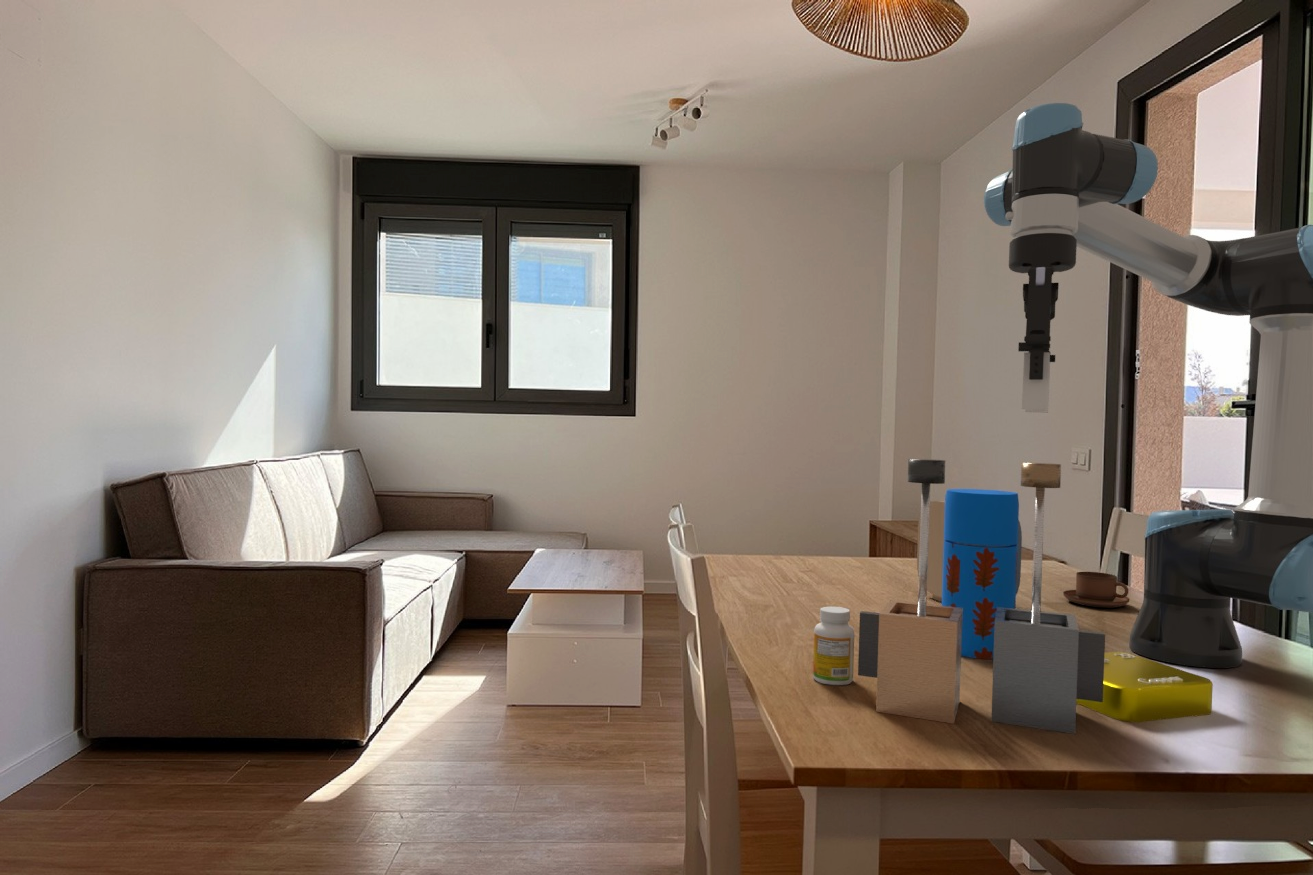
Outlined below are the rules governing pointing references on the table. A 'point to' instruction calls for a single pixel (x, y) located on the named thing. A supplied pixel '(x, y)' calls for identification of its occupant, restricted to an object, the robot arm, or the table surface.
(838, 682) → the supplement bottle
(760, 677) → the table surface
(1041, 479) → the tan and silver rod
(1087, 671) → the grey box
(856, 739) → the table surface
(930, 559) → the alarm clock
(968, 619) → the thermos
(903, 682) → the light wood box
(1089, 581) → the cup and saucer
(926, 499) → the grey capped rod
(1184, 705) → the element tile
